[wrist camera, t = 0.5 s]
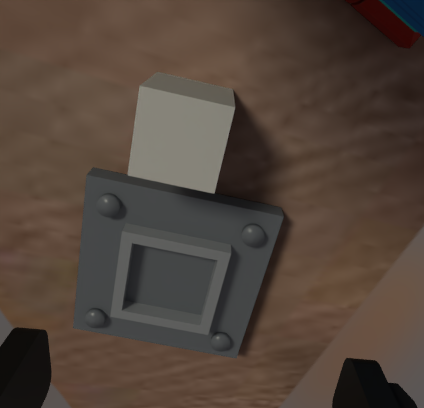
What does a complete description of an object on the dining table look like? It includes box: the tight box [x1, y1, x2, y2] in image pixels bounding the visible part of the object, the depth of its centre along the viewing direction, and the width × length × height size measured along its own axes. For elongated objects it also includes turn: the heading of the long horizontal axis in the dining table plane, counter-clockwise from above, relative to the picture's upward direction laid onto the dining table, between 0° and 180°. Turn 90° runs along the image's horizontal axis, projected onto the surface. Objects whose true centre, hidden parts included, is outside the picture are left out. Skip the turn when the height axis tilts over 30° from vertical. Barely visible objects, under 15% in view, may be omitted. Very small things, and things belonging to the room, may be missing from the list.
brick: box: [128, 72, 235, 194], centre depth 24 cm, size 5×5×6 cm
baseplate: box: [73, 167, 284, 358], centre depth 30 cm, size 14×14×3 cm
